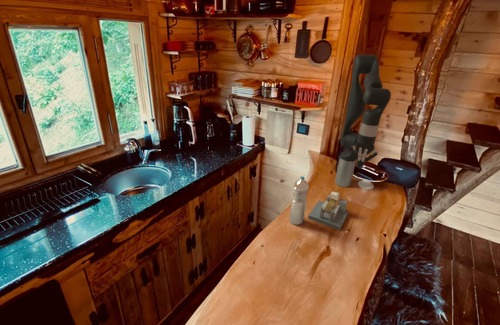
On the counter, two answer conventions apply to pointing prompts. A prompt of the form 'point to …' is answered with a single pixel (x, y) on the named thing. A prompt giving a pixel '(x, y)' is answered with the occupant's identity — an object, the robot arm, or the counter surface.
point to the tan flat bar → (330, 205)
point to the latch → (334, 195)
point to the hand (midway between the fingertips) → (359, 167)
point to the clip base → (332, 218)
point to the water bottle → (299, 201)
